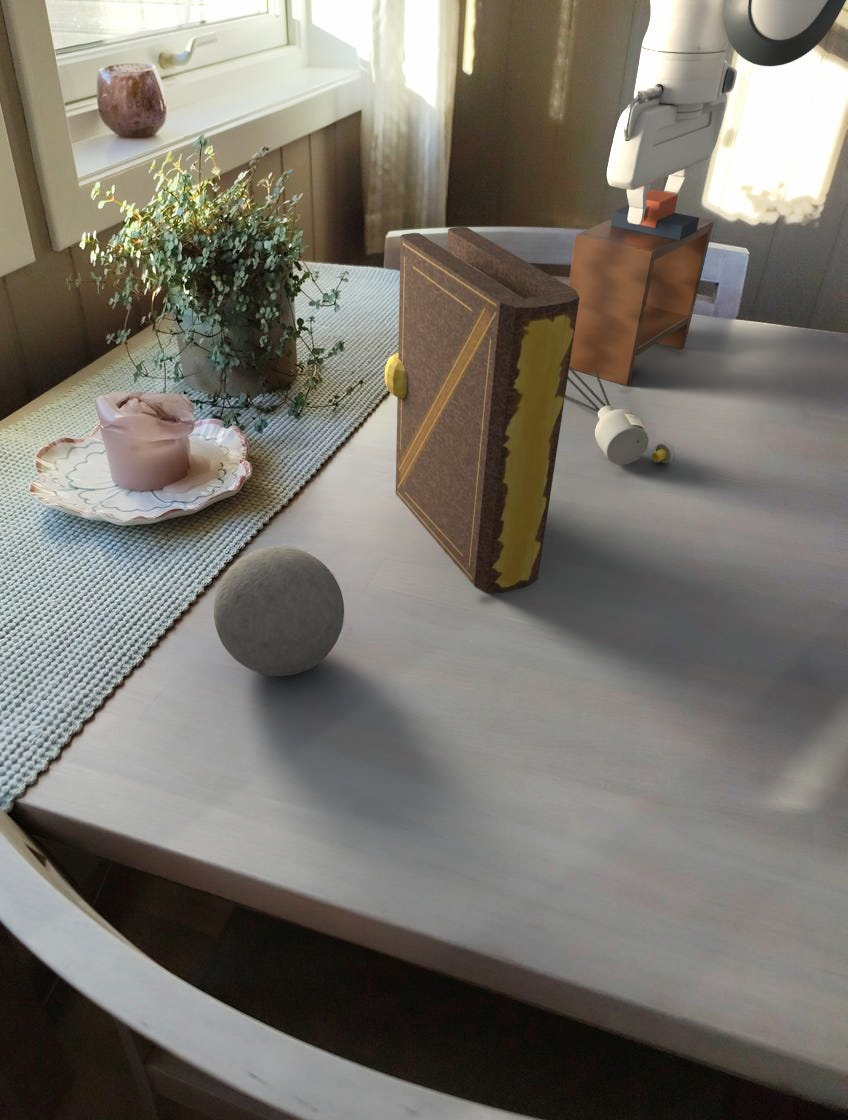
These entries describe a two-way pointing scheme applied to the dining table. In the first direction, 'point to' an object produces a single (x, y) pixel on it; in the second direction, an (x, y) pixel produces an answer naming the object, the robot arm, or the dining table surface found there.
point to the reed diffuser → (621, 431)
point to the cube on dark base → (659, 217)
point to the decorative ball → (278, 611)
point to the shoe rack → (632, 295)
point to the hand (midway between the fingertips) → (652, 215)
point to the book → (480, 400)
